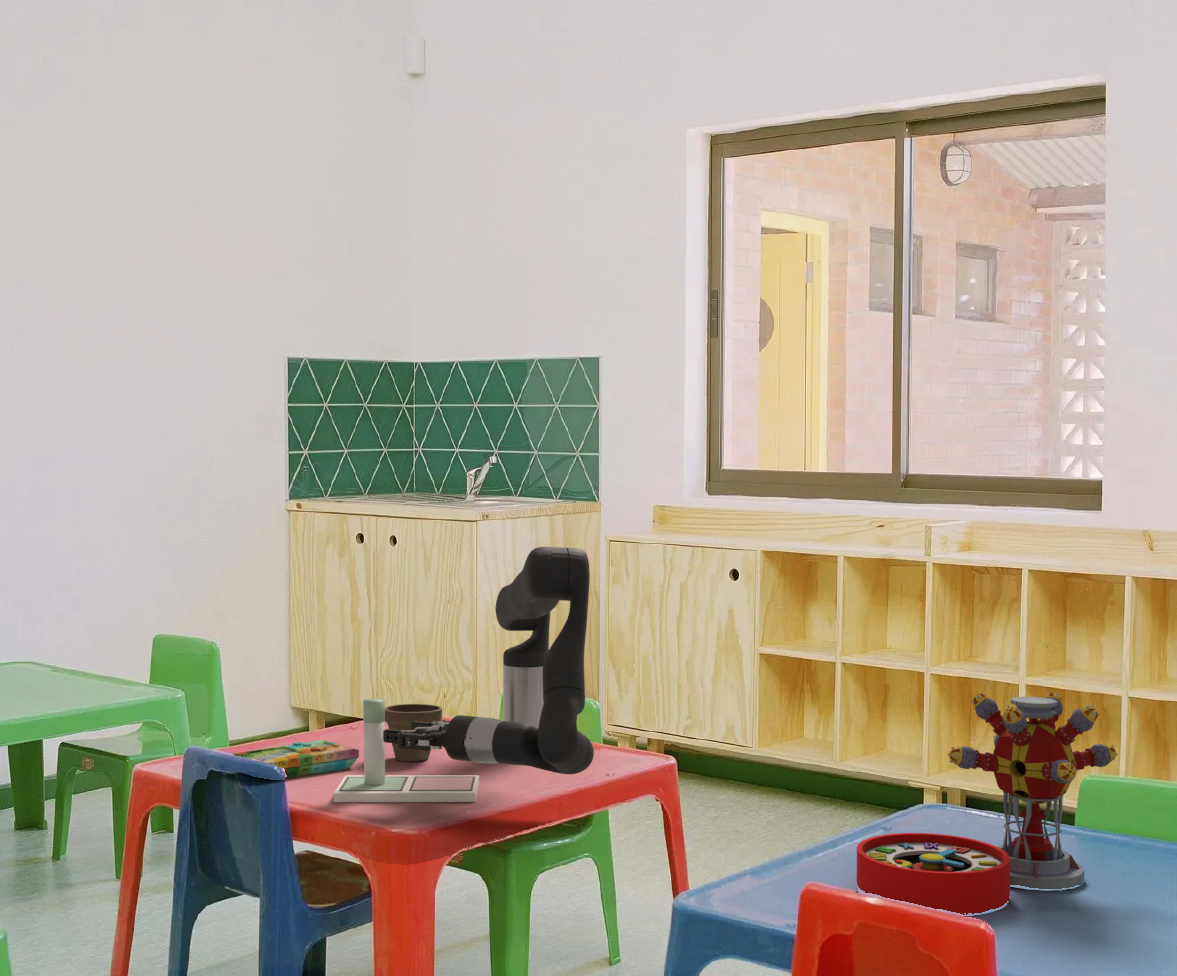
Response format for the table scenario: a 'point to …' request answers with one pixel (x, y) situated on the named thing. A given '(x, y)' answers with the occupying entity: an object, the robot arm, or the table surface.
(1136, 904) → the table surface
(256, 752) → the puzzle game
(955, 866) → the toy clock
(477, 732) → the robot arm
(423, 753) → the flower pot
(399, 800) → the colouring board
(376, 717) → the green marker
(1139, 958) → the table surface
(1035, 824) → the red knobbed tall piece
